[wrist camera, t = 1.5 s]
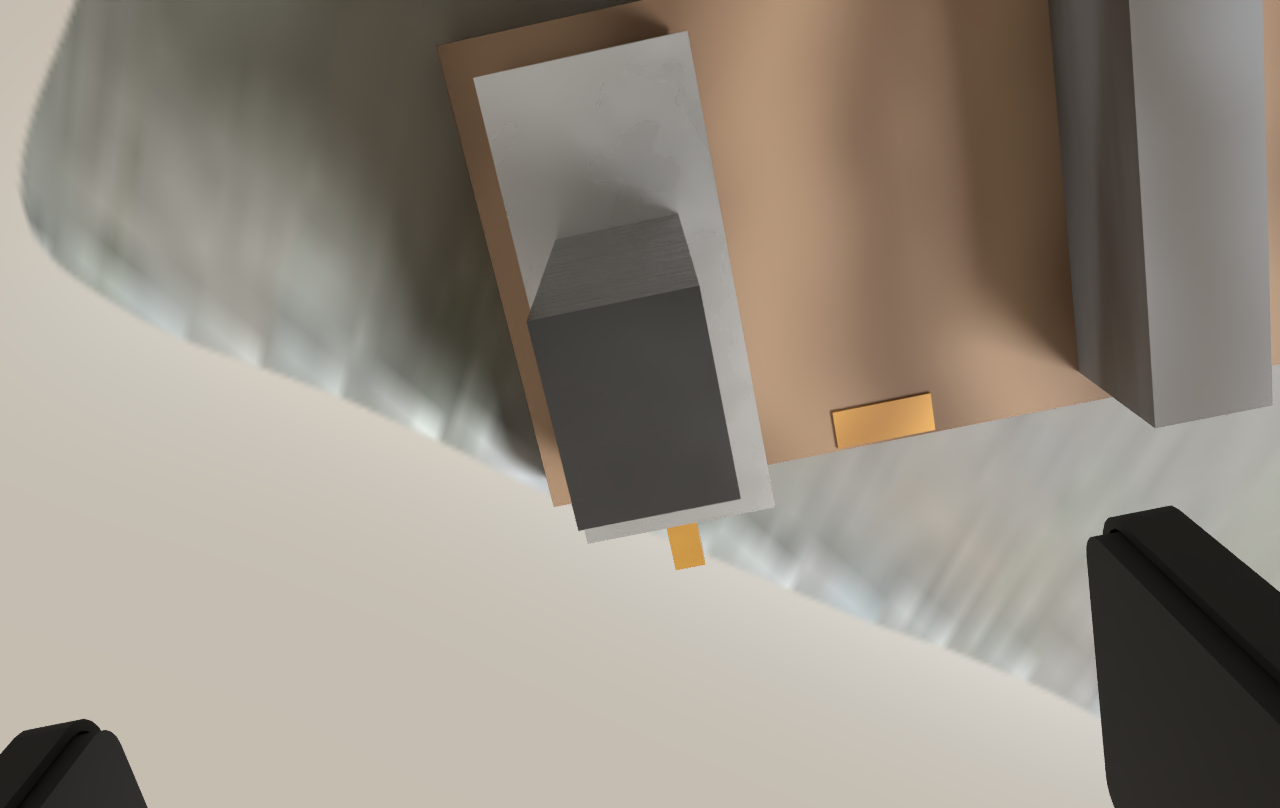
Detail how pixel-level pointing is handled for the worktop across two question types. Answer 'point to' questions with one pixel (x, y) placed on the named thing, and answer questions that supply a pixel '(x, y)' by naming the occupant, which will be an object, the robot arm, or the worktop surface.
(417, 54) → the worktop surface
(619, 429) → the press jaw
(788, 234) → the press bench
